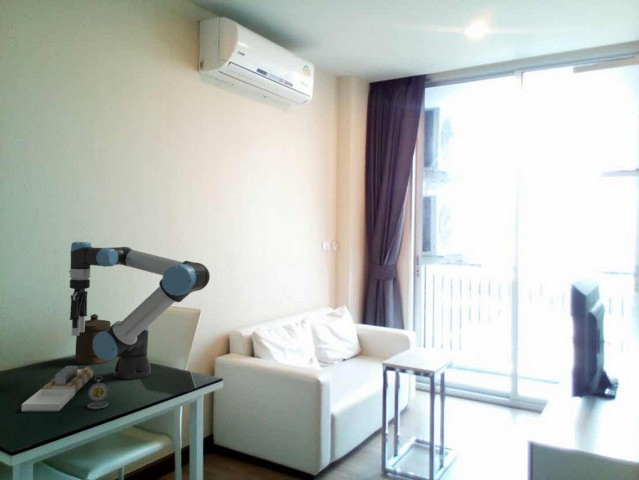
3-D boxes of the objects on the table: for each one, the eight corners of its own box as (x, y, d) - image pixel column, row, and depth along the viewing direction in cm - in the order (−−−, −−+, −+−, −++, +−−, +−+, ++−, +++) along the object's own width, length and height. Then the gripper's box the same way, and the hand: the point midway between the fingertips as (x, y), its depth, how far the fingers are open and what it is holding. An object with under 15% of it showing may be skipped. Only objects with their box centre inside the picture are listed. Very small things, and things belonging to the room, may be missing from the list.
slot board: (65, 376, 207) (65, 366, 207) (92, 376, 209) (93, 366, 209) (42, 395, 183) (42, 384, 183) (73, 395, 185) (73, 384, 185)
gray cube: (66, 375, 199) (67, 365, 199) (77, 375, 199) (77, 365, 199) (63, 378, 195) (63, 368, 195) (73, 378, 195) (74, 368, 195)
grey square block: (62, 378, 194) (63, 369, 194) (73, 378, 195) (73, 368, 195) (58, 382, 190) (59, 371, 190) (69, 382, 191) (70, 371, 191)
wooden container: (114, 356, 240) (115, 312, 240) (101, 365, 226) (103, 317, 225) (84, 355, 240) (85, 311, 240) (69, 364, 225) (70, 316, 225)
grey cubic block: (58, 382, 190) (58, 372, 190) (69, 382, 190) (69, 372, 190) (54, 385, 186) (54, 375, 186) (65, 385, 187) (66, 375, 186)
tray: (40, 395, 183) (40, 389, 183) (74, 395, 185) (74, 388, 185) (21, 411, 167) (21, 404, 167) (58, 411, 169) (59, 403, 169)
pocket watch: (94, 411, 170) (95, 383, 170) (80, 406, 174) (81, 378, 174) (115, 405, 177) (116, 377, 177) (101, 400, 181) (102, 373, 181)
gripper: (78, 276, 213) (76, 329, 214) (62, 280, 194) (60, 338, 195) (96, 276, 214) (94, 329, 215) (82, 281, 195) (80, 338, 196)
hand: (78, 333), depth 205 cm, fingers open, 6 cm apart
